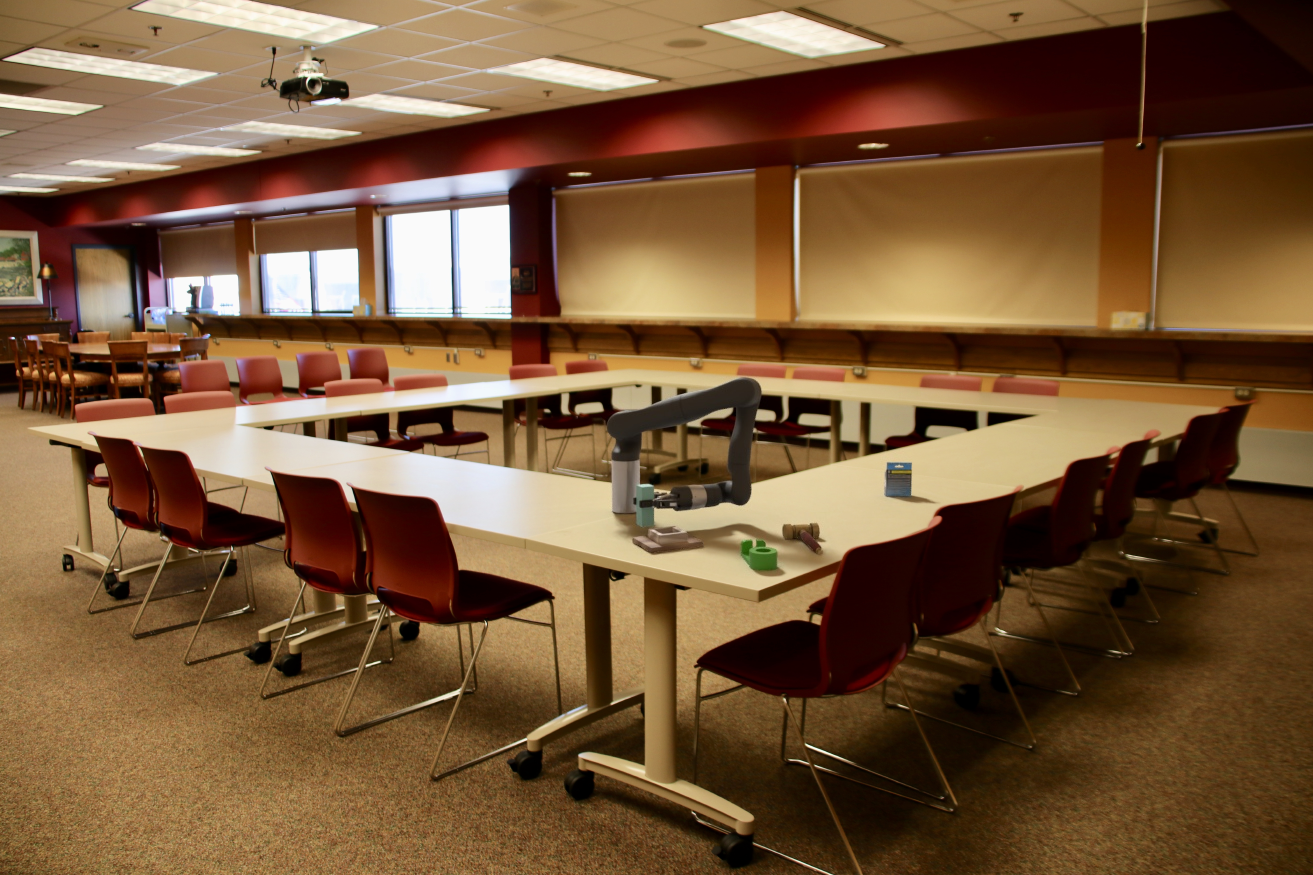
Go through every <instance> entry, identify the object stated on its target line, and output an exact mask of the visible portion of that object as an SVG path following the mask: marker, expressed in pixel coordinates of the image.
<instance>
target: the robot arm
mask: <svg viewBox="0 0 1313 875" xmlns="http://www.w3.org/2000/svg"><path fill="white" fill-rule="evenodd" d="M762 390H763V389H762V387H761V385H760V383H759V382H758V381H757V380H756V379H754V378H752V377H746V376H740V377H736V378H734V379H731V380H729V381H727V382H724V383H722V384H719V385H717V386H714V387H710V388H704V389H699V390H695V391H690V392H689V391H688V392H685V393H682V394H677V395H674V396H672V397H671V396H670V397H669V398H665V399H662V400H661V401H657V402H655V403H653V404H651V405H648V406H646V407H643V408H639V409H634V410H631V409H627V410H626V409H625V410H621V411H618V412H615V413H613V414H612V415H611V416H610V417H609V418H608V421H607V424H606V431H607V433H608V434H609V435H610V437H611V438H612V439H615V443H614V446H613V449H612V451H611V453H610V454H611V455H610V456H611V459H610V460H611V510H612V512H613V513H617V514H636V485H641V483H640V482H641V481H640V480H641V473H640V471H641V470H640V463H641V462H640V456H641V454H640V453H641V450H642V443H643V441H642V440H643V439H642V438H643V433H644V432H648V431H651V430H659V429H665V428H666V429H667V428H670V427H676V426H681V425H684V424H688V423H692V422H695V421H697V420H700V419H702V418H705V417H706V416H708V415H711V414H712V413H714V412H718V411H721V410H728V409H734V408H736V409H735V410H736V413H735V415H736V416H735V422H734V428H733V430H732V434H731V437H730V440H729V445H728V452H727V460H726V462H727V463H726V470H727V471H728V473H729V474H730V475H731V480H724V481H720V482H716V483H710V484H709V483H708V484H690V485H689V484H688V485H676V486H673V487H671V490H670V492H669V493H667V491H666V492H664V491H663V492H660V491H654V499H652V501H651V499H650V500H640V501H639V507H640V508H648V507H651V506H652V508H654V509H657V510H663V509H664V510H666V509H670V510H671V509H672V510H674V511H675V512H685V511H691V510H693V511H694V510H699V509H704V508H712V507H713V508H715V507H718V506H719V505H720V504H732V505H735V506H739V507H740V506H741V507H742V506H745V505H746V504H748V502H749V501H750V499H751V497H752V481H751V473H750V466H751V456H752V454H751V453H752V446H753V445H752V444H753V435H754V430H755V428H754V427H755V422H756V418H757V413H758V409H759V407H760V402H761V398H762V394H763V391H762Z"/></svg>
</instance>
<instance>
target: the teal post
mask: <svg viewBox="0 0 1313 875" xmlns="http://www.w3.org/2000/svg"><path fill="white" fill-rule="evenodd" d="M654 492H655V486H654V485H652V484H650V483H643V484H641V483H640V485H636V512H635V514H636V516H635V517H636V518H635V519H636V521H635V524H636V525H637V526H639V527H641V528H646V527H647V528H648V527H654V526H655V508H652V506H651V507H648V508H640V507H639V501H640V500H650V499H651V501H652V499H654Z"/></svg>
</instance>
